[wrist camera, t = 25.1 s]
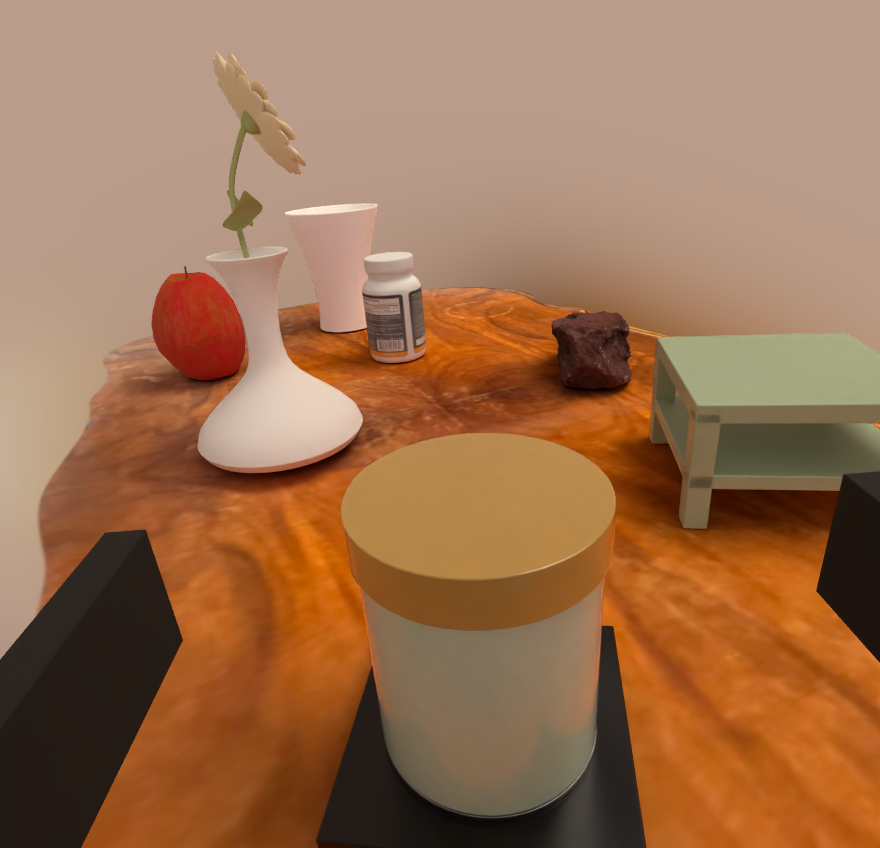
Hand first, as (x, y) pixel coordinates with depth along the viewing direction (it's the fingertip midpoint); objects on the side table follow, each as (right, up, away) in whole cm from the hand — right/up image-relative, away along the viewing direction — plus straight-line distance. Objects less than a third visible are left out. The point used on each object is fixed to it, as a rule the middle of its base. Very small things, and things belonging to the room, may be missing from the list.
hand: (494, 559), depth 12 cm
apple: (-24, +7, +48) cm, 54 cm away
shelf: (+18, 0, +24) cm, 30 cm away
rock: (+11, +7, +41) cm, 43 cm away
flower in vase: (-12, +1, +33) cm, 35 cm away
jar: (0, -7, +8) cm, 11 cm away
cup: (-12, +14, +62) cm, 65 cm away
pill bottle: (-5, +9, +50) cm, 51 cm away
